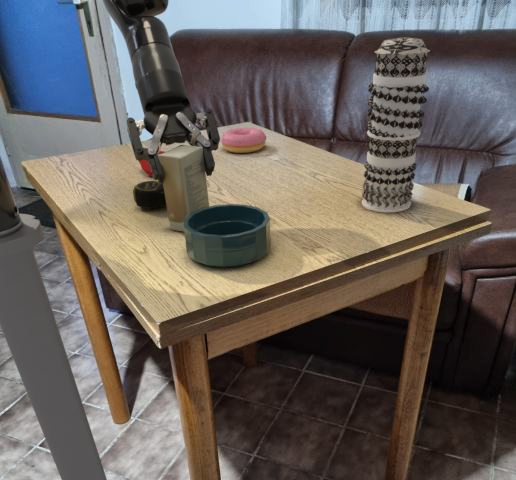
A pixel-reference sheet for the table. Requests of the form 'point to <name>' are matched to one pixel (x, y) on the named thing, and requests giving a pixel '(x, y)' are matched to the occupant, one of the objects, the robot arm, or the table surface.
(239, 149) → the doughnut
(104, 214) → the table surface
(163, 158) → the cosmetic box
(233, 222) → the bowl
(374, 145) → the white patterned cylinder
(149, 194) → the tape measure
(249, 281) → the table surface
